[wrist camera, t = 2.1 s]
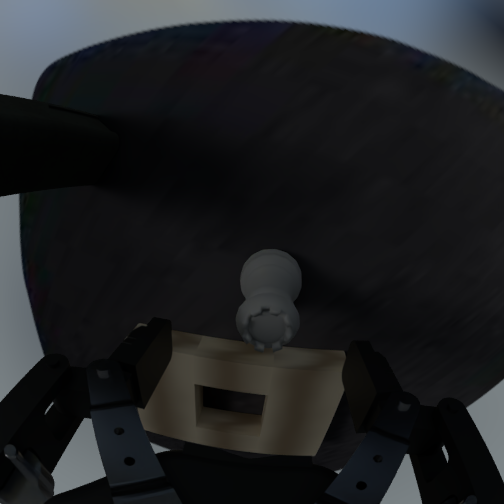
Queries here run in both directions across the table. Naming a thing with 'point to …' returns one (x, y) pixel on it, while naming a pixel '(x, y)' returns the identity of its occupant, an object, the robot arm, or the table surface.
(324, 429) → the socket board
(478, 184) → the table surface
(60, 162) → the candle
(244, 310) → the rook chess piece
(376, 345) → the table surface
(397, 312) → the table surface
